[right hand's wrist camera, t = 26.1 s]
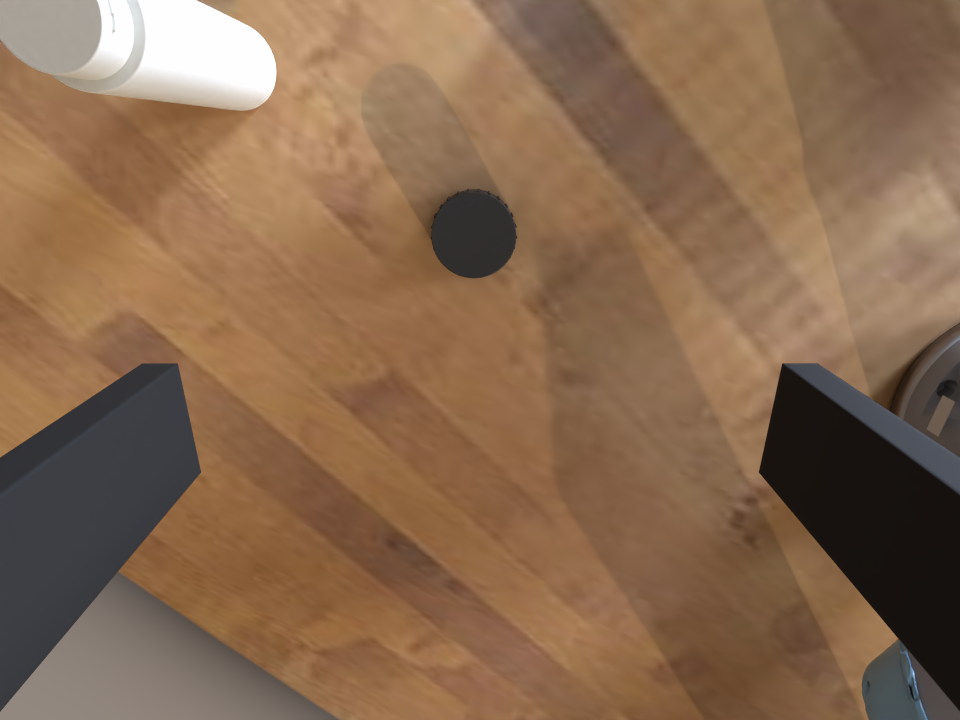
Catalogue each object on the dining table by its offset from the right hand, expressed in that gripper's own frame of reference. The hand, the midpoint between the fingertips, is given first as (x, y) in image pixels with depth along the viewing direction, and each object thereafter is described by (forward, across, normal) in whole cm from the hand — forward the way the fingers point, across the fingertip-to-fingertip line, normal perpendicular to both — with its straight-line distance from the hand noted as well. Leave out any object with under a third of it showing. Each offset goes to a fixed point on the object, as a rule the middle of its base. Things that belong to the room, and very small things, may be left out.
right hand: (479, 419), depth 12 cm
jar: (+26, +14, -10) cm, 31 cm away
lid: (+24, 0, 0) cm, 24 cm away
